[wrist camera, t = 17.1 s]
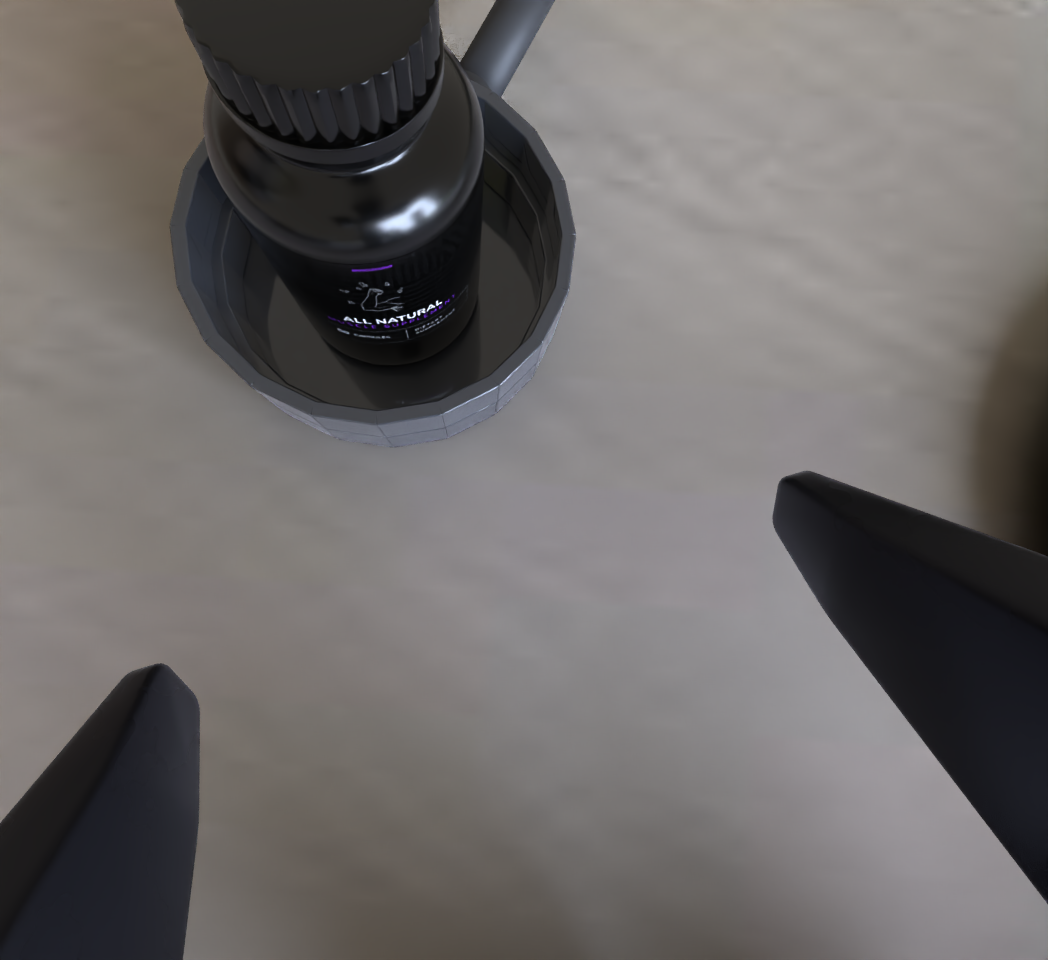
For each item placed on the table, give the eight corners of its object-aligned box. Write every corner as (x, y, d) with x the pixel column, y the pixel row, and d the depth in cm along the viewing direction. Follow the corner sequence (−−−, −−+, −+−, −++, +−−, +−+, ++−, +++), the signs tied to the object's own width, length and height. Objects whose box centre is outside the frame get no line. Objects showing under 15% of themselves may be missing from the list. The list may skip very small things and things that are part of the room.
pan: (470, 505, 22) (468, 492, 18) (163, 356, 22) (89, 309, 18) (607, 228, 24) (634, 159, 20) (328, 91, 24) (297, -8, 20)
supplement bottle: (397, 407, 22) (299, 221, 10) (265, 289, 22) (13, -33, 10) (517, 284, 23) (560, -18, 11) (390, 173, 23) (297, -242, 11)
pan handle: (484, 141, 22) (485, 104, 20) (441, 120, 22) (438, 81, 20) (599, -67, 23) (609, -118, 22) (560, -86, 23) (566, -139, 22)
